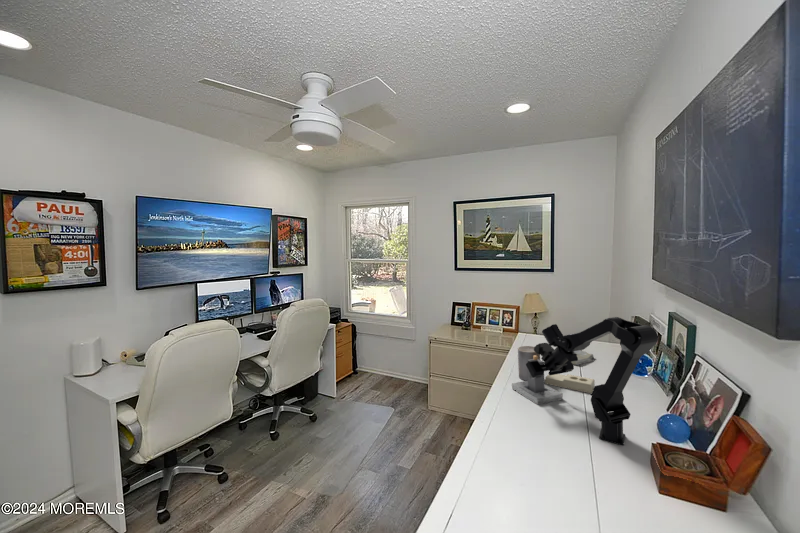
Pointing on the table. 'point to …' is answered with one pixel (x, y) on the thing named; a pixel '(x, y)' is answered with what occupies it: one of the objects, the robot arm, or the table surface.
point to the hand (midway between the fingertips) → (539, 375)
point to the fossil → (583, 357)
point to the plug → (536, 379)
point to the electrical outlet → (571, 382)
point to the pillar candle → (525, 360)
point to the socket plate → (540, 397)
